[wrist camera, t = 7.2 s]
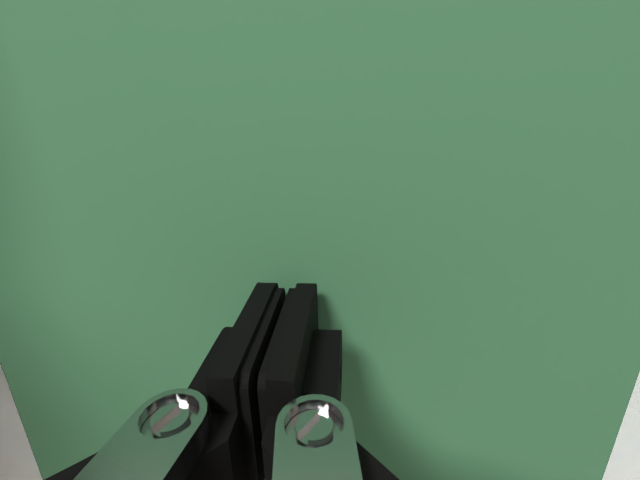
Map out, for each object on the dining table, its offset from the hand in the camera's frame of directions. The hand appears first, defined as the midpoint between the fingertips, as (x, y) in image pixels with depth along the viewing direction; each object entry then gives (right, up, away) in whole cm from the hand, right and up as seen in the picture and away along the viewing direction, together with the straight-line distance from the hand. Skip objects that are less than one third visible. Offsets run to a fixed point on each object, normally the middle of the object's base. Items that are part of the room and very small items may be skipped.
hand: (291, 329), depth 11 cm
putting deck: (0, -2, +4) cm, 5 cm away
